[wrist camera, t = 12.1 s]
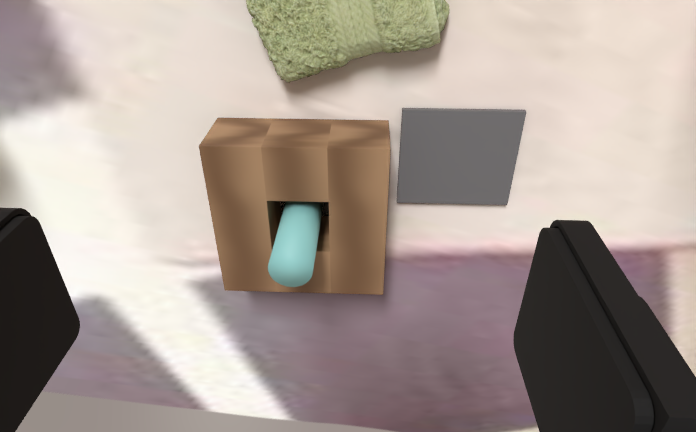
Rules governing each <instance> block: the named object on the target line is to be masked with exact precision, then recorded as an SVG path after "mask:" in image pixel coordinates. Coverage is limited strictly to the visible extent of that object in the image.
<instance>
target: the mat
mask: <svg viewBox="0 0 696 432" xmlns="http://www.w3.org/2000/svg"><path fill="white" fill-rule="evenodd" d="M525 116H526V111H525V110H498V109H429V108H402V123H401V139H400V155H399V171H398V187H397V202H398V203H446V204H494V205H507V203H508V198H509V194H510V189H511V184H512V179H513V174H514V169H515V164H516V159H517V155H518V150H519V145H520V140H521V135H522V130H523V125H524V120H525Z"/></svg>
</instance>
